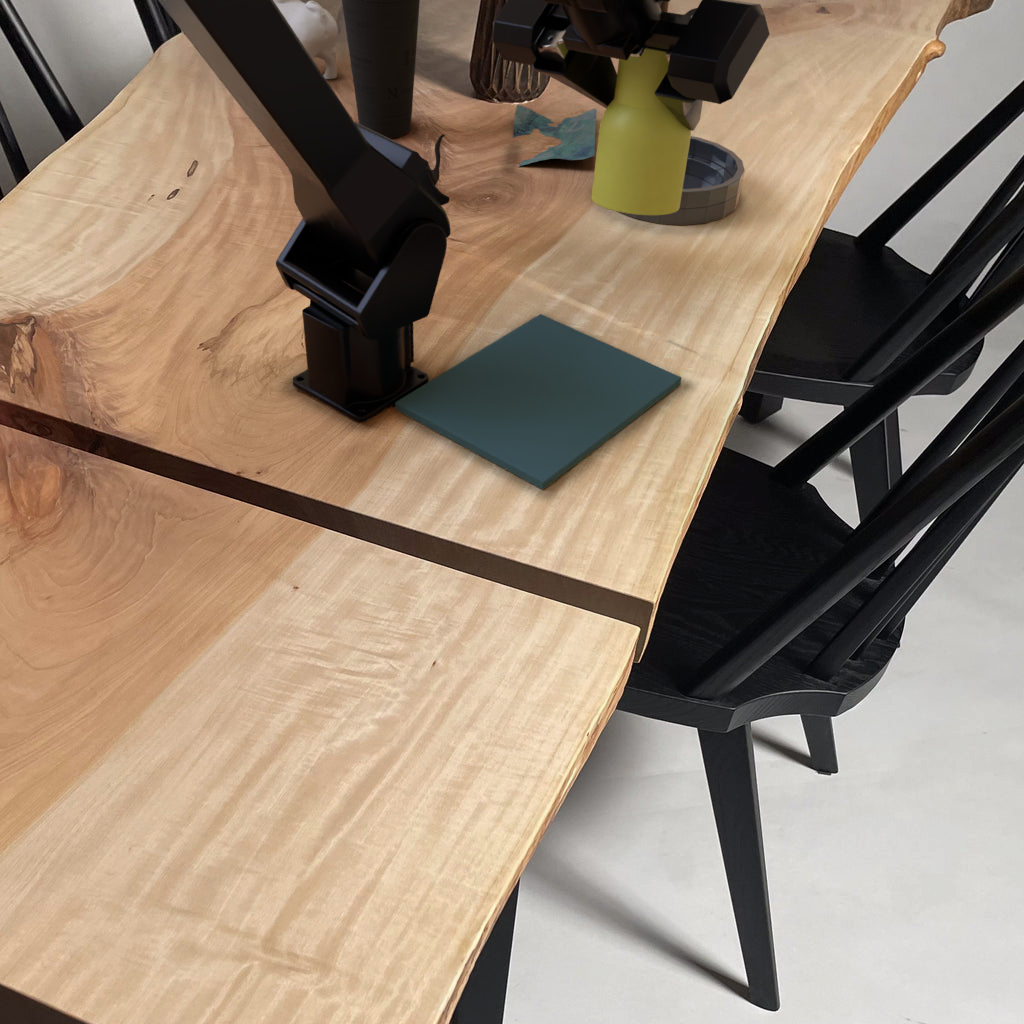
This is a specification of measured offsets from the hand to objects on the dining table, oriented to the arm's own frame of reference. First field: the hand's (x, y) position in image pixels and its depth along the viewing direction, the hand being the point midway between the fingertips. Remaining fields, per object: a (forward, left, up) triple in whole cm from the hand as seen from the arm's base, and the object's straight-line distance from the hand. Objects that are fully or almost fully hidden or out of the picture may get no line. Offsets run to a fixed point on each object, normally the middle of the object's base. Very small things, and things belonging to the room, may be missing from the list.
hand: (657, 117), depth 80 cm
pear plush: (-2, 0, -6) cm, 6 cm away
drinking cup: (+4, +32, -11) cm, 34 cm away
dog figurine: (+8, +50, -11) cm, 52 cm away
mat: (-21, -6, -11) cm, 24 cm away
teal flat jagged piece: (+12, +18, -11) cm, 25 cm away
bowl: (+10, +4, -11) cm, 16 cm away
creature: (-6, +21, -11) cm, 25 cm away
